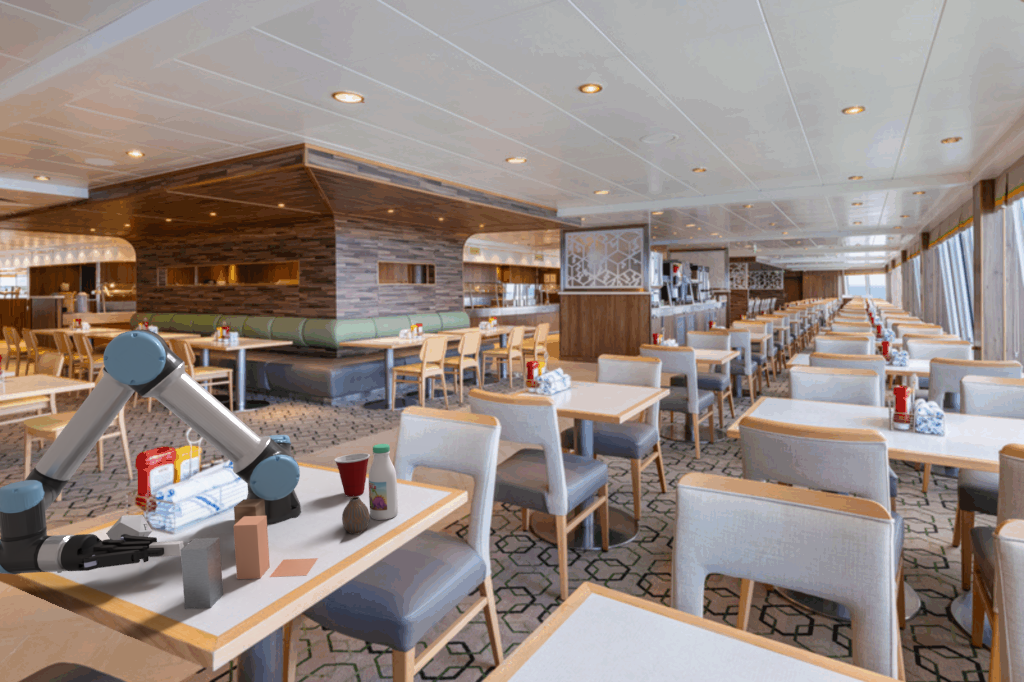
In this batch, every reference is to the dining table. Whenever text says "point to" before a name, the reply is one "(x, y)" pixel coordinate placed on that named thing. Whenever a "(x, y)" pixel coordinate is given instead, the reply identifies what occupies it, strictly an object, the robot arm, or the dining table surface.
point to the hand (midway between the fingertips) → (181, 548)
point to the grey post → (201, 573)
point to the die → (129, 527)
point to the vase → (355, 516)
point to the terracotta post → (251, 547)
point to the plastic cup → (353, 472)
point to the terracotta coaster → (294, 567)
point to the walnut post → (249, 508)
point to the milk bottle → (382, 485)
